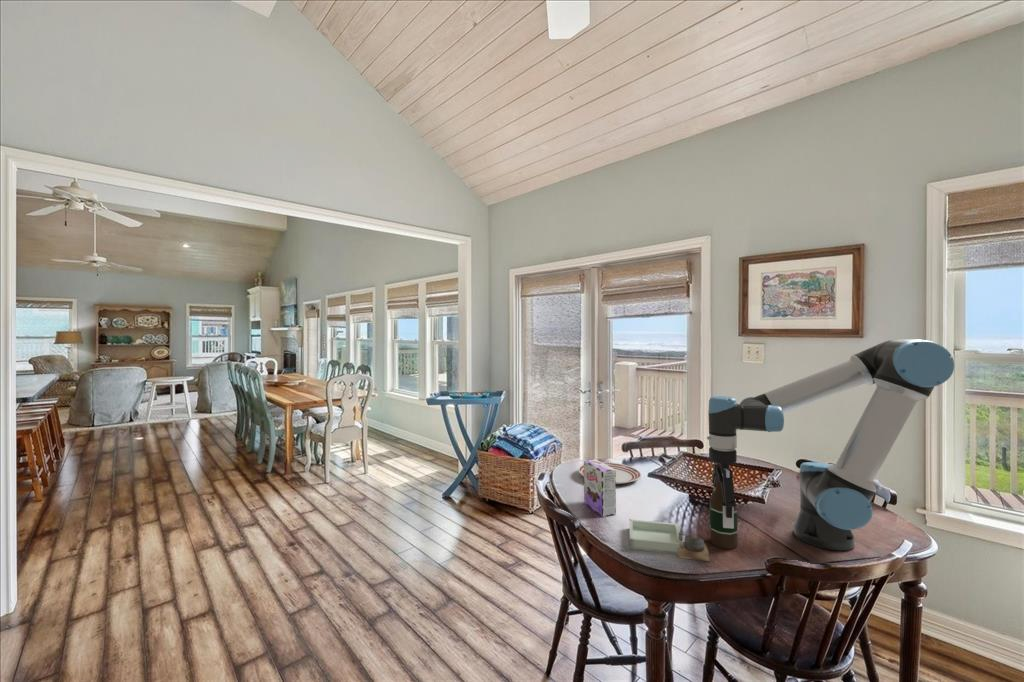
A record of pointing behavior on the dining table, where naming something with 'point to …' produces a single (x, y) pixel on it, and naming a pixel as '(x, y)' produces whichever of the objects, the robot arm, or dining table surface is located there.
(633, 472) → the dinner plate
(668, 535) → the tray
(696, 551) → the grey stone on stand
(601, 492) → the candy box
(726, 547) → the beer bottle
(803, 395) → the robot arm
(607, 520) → the dining table surface
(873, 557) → the dining table surface
